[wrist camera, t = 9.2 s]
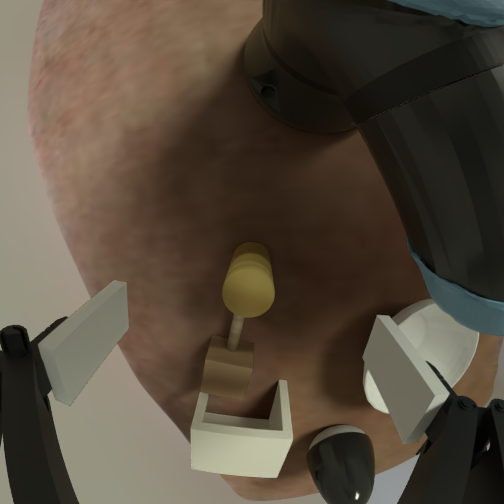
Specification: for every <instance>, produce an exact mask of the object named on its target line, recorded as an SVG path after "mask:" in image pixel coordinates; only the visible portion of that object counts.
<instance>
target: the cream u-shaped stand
mask: <svg viewBox="0 0 504 504" xmlns="http://www.w3.org/2000/svg"><path fill="white" fill-rule="evenodd" d="M208 397H209V394H207V393H203V392H200V394H199V398H198V402H197V405H196V409H195V413H194V417H193V421H192V425H191V468H192V469H195V470H201V471H207V472H214V473H221V474H229V475H238V476H250V477H265V478H277V476H278V474H279V472H280V470H281V467H282V465H283V463H284V460H285V458H286V456H287V453H288V451H289V448H290V446H291V444H292V441H293V433H292V423H291V414H290V405H289V396H288V387H287V380H279V382H278V386H277V390H276V394H275V398H274V402H273V405H272V409H271V413H270V417H269V420H267V419H256V418H246V417H237V416H229V415H221V414H215V413H208V412H205V411H206V406H207V402H208Z"/></svg>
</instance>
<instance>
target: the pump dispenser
mask: <svg viewBox="0 0 504 504" xmlns="http://www.w3.org/2000/svg"><path fill="white" fill-rule="evenodd" d="M307 464H308V467H309V471H310V473H311V476H312V479H313V481H314V483H315V485H316V487H317V489H318V491H319V492H320V494H321V495H322V497H323V498H324V500H325V501H326V502H327V503H328V504H366V503H367V502H368V500H369V498H370V496H371V493H372V490H373V486H374V477H375V457H374V450H373V445H372V441H371V439H370V437H369V436H368V435H366V434H365V433H364V432H363V431H362V430H361V429H359V428H357V427H355V426H351V425H337V426H333V427H330V428H327V429H325V430H324V431H322V432H321V433H319V434H318V435H317V436H316V437H315V438H314V440H313V441H312V443H311V445H310V448H309V451H308V453H307Z"/></svg>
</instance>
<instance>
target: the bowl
mask: <svg viewBox="0 0 504 504" xmlns="http://www.w3.org/2000/svg"><path fill="white" fill-rule="evenodd" d="M391 319H392V320H393V321H394V322H395V324H396V325H397V326H398V327H399V329H400V330H401V331H402V332H403V333H404V335H405V336H406V337H407V338H408V340H409V341H410V342H411V343H412V345H413V346H414V347H415V348H416V350H417V351H418V352H419V354H420V355H421V356H422V357H423V359H424V360H425V361H428V362H429V363H431V364H432V365H434V366H435V367H436V368H437V370H438V371H439V372H440V375H442V376H443V377H444V380H446V381H447V383H448V384H449V385H450V387H451V388H452V387H453V386H454V385H455V384H456V383H457V382H458V381H459V379H460V378H461V377H462V375H463V374H464V372H465V371H466V370H467V368H468V367H469V365H470V363H471V361H472V359H473V356H474V354H475V352H476V348H477V344H478V340H479V332H477V331H474V330H471V329H469V328H467V327H464V326H462V325H460V324H459V323H457V322H456V321H455V320H454V319H453V318H452V317H451V316H450V315H449V314H447V313H445V312H443V311H442V310H441V309H440V308H439V307H438V306H437V305H436V303H435V302H434V301H433V299H432V298H430V299H426V300H422V301H418V302H416V303H414V304H412V305H410V306H408V307H406V308H404V309H403V310H401V311H400V312H399V313H398V314H396V315H395V316H394V317H393V318H391ZM363 386H364V390H365V394H366V397H367V400H368V401H369V403H370V404H371V405H372V406H373V407H374V408H375V409H377V410H379V411H381V412H383V413H389V411H388V409H387V407H386V405H385V403H384V401H383V399H382V397H381V395H380V392H379V390H378V388H377V386H376V384H375V382H374V380H373V378H372V376H371V374H370V372H369V370H368V368H367V366H366V364H365V363H364V374H363ZM389 414H390V413H389Z"/></svg>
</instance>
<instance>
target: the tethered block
mask: <svg viewBox="0 0 504 504" xmlns="http://www.w3.org/2000/svg"><path fill="white" fill-rule="evenodd" d="M274 297H275V291H274V283H273V275H272V267H271V259H270V254H269V252H268V250H267V249H266V248H265V247H264V246H263V245H261V244H259V243H256V242H246V243H243V244H241V245H240V246H239V247H238V248H237V249H236V250H235V252H234V254H233V257H232V260H231V263H230V266H229V269H228V272H227V276H226V279H225V282H224V285H223V288H222V298H223V301H224V303H225V305H226V307H227V308H228V309H229V310H230V311H231V312H233V313H234V316H233V320H232V325H231V329H230V334H229V338H225V337H220V336H216V335H212V338H211V341H210V345H209V349H208V352H207V356H206V359H205V365H204V371H203V376H202V382H201V388H200V392H203V393H207V394H212V395H216V396H221V397H226V398H231V399H237V400H242V401H243V400H244V396H245V393H246V390H247V387H248V383H249V380H250V377H251V373H252V370H253V351H254V343H249V342H244V341H239V339H240V335H241V331H242V327H243V323H244V319H245V317H247V318H251V317H257V316H259V315H262V314H263V313H265V312H266V311H267V310H268V309H269V308H270V307H271V305H272V303H273V301H274Z"/></svg>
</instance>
